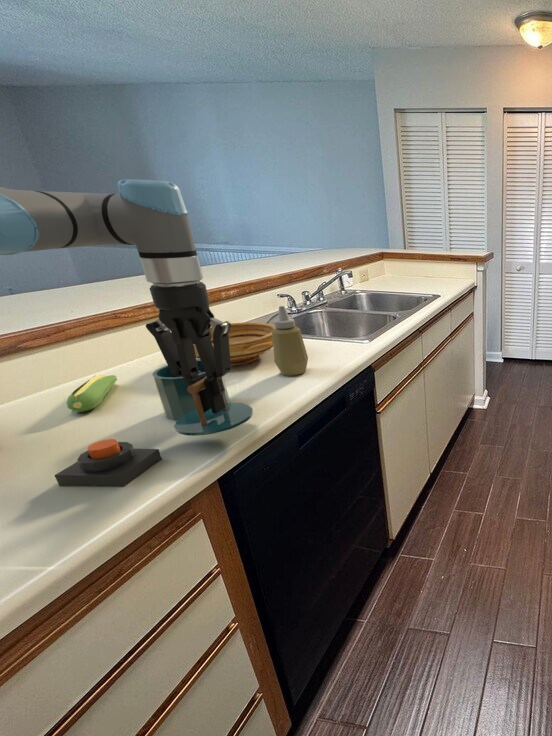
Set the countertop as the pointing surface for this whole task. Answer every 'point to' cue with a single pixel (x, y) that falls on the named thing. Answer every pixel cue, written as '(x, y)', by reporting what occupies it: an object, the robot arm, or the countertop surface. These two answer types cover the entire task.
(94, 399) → the edible corn
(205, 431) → the lid
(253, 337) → the wooden bowl
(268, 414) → the countertop surface
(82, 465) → the block
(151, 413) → the countertop surface
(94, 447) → the button
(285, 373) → the squeeze bottle
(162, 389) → the jar
